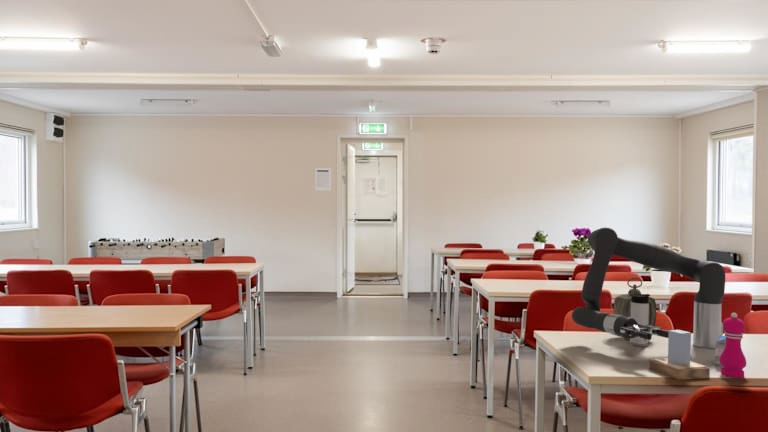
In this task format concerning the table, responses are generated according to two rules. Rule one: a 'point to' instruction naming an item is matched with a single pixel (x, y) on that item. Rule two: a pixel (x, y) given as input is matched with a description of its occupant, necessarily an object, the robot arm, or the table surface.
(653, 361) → the block
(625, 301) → the tabletop clock
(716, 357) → the label tape box
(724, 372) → the pepper mill
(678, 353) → the slate-blue block
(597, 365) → the table surface
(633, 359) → the table surface
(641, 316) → the travel mug
